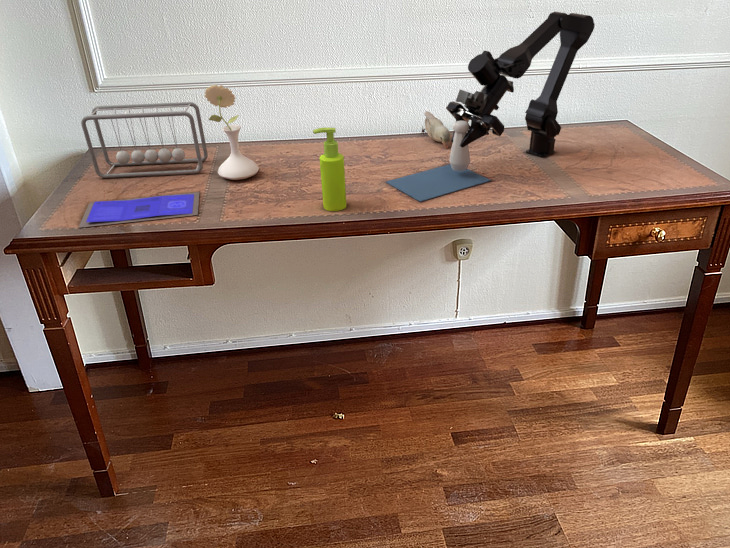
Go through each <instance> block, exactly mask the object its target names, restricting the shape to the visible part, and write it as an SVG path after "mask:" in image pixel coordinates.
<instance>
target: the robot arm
mask: <svg viewBox="0 0 730 548" xmlns="http://www.w3.org/2000/svg"><path fill="white" fill-rule="evenodd" d="M595 25H596V24H595V21H594V18H593V16H592V15H588V14H582V13H576V12H571V13H567V12H566V13H565V12H561V11H553V12H551V13H549V15H547V18H546V19H545V20H543V22H542V23H541V24H540V25H539V26H538V27H537V28H535V30H534V31H532V33H531V34H530V35H528V36H527V37H526V38H525V39H524V40H523V41H522V42H521V43H519V44H518V45H516V46H515V45H514V46H512V47H510V48H508V49H507V50H505V51H504V52H502V53H501V54H500V55H499V56H498V57H497V58H496V57H495V58H494V57H493V54H492V53H491V51H489V50H483V51H482V53H479V54H477V55H475V56H474V57H473V58H471V59H470V61H469V62H468V65H467V70H468V72H469V73H470V75H472V77H473V78H474V79H475V80H476V81H477V83H478V84H479V85H480V86H483V87H482V89H480V91H478V90H476V91H474V93H473V92H469V91H467V90H463V89H459V90H458V93H457V96H456V99H455V101H450V102H448V104H447V106H446V107H445V110H447V112H448V113H450V115H451V116H452V117H453V118H454V119H455V122H456V121H466V122H468V123H470V124H469V130H468V131H467V134H466V135H465V137H464V138H463V140H462V142H461V144H460V146H461V147H462V148H463V147H465V146H466V145H468V146H469V145H470V144H472V143H473V142H475V141H477V140H479V139H481V138H483V137H485V136H489V135H490V133H489V131H490V130H491V134H492V135H494V136H497V137H501V136H502V135H503V133H504V131H505V125H504V124H503V122H502V121H501V120H500V119H499V118H498V116H496V115H493V114H492V113H493V112H494V111H498V110H499V109H500V107H499V105H498V104H499V103H500V101H501V100H502V99H503V97H504V95H505V94H506V93H507V92H509V93H512V94H513V93H515V92H514V91H515V88H514V81H513V80H508V77H509V78H512V79H521V78H522V77H523V76H524V75H525V73H526V72H527V71H528V70H529V69H530V67H531V66H532V61H533V59H534V58H535V57H536V55H538V53H539V52H540V51H541V50H543V49H544V48H545V47H546V46H547V45H548V44H549V43H550V42H551V41H552V40H553V39H554V38H555V37H556V36H557V35H559V41H560V45H559V48H558V51H557V53H556V56H555V58H554V60H553V64H552V66H551V68H550V71H549V73H548V76H547V78H546V81H545V83H544V85H543V88H542V91H541V94H540V95H539V96H538V97H537V98H536V99H533V98H531V100H530V101H529V103H528V107H527V109H526V111H525V116H524V120H525V125H526V129H527V131H530V141H529V146H528V147H529V148H528V149H527V150H525V153H527V154H530V155H534V156H538V157H541V158H545V157H547V156H550V155H552V154H554V153H556V149H555V144H556V138H555V137H557V136H559V135H560V133H561V131H562V126H561V125H560V124H559V122H558V120H557V116H558V113H559V111H558V100H559V96H560V94H561V92H562V89H563V87H564V84H565V82H566V80H567V78H568V75H569V72H570V70H571V67H572V65H573V63H574V60H575V58H576V56H577V53H578V51H579V50H580V49H581V48H583V47H584V46H585V45H586V44H587V43H588V41H589V39H590V37H591V36H592V34H593V32H594V29H595ZM452 132H453V133H452V136H451V138H450V142H451V143H452V144H453V139H454V134H455V131H454V130H453V131H452Z"/></svg>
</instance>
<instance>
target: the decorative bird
mask: <svg viewBox="0 0 730 548" xmlns="http://www.w3.org/2000/svg"><path fill="white" fill-rule="evenodd" d="M423 115H424V116H425V119H424V126H423V125H421V126H422V128H421V133H420V135H422V134H423V136H425V134H427V135H428V137H429V138H430V139H431V140H432V141H436V142H438V143H441V144H442V145H443V146H444V148H446V149H448V147H449V146H450V142H451V138H452V136H451V132H450V130H449V128H448V127H447V126H445V125H444V123H443V121H442V120H441V119H439V118H437V117H435V115H434V114H433V113H432V112H430V111H429V110H425V112H423Z"/></svg>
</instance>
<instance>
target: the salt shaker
mask: <svg viewBox="0 0 730 548" xmlns="http://www.w3.org/2000/svg"><path fill="white" fill-rule="evenodd" d="M469 125H470V122H466V121H456V120H455V122H454V123H453V125H452V130H453V132H454V131H455V134H454V139H453V143H452V144H451V148H450V154H449V158H448V161H449V164H450V165H451V167H452V169H453V170H455V171H463V170H466V169H468V167H469V164H470V163H471V155H470V148H469V144H468V145H466V146H465V147H463V148H462V147H461V146H460V144H461V142H462V140H463V138H464V137H465V135H466V134H467V132H468V130H469Z"/></svg>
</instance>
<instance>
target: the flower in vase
mask: <svg viewBox="0 0 730 548" xmlns="http://www.w3.org/2000/svg"><path fill="white" fill-rule="evenodd" d="M204 91H205V92H204V95H203V96H204V98H206V99H207V101H208V102H209V103H210V105H213V106H214V107H218V113H219V115H217V114H212V115H210V116H209V118H208V121H212V122H216V123H220V122H221V121H223V122H224V123H225V125H226V126H223V127H222V131H223V132H224V133H225V134H226V136H227V138H228V142H229V146H230V154H229V157H227V158H226V159H225V160H224V161H223V162H222V164H220V166H219V167H218V170H217V174H218V175H219V176H220V177H221V178H223V179H226V180H232V181H234V180H235V181H237V180H239V181H240V180H245V179H248V178H251V177H253V176H255V175H256V174H258V172H259V170H260V168H259V165H258V164H257V163H256V162H255V161H254V160H252V159H250V158H248V157H246V156H245V155H244V154H242V153H241V151H240V144H239V133H240V131H241V129H242V127H241V125H238V124H232V123H234V122H235V121H236V120H237V119H238V118H239V114H237V115H234V116H232V117H231V118H229V120H228V121H226V120H225V118H224V117H223V116H222V113H221V112H222V111H221V108H230V107H232V106H234V105H235V102H236V97H235V94H234V93H233V91H232V90H231V89H229V88H228V87H224V86H223V85H222V84H219V85H218V84H211V85H210V86H209V87H206V89H204ZM230 124H231V125H230Z"/></svg>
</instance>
